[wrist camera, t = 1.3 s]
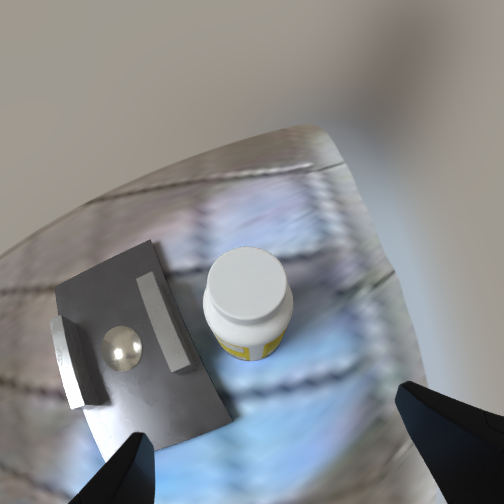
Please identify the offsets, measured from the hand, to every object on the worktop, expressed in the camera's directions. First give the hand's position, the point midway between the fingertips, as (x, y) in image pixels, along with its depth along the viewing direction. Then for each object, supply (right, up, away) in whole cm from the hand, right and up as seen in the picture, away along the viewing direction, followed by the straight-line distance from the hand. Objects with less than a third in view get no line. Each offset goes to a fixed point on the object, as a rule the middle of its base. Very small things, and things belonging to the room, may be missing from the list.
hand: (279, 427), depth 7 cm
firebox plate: (-12, -3, +13) cm, 18 cm away
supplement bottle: (-1, -1, +14) cm, 14 cm away
